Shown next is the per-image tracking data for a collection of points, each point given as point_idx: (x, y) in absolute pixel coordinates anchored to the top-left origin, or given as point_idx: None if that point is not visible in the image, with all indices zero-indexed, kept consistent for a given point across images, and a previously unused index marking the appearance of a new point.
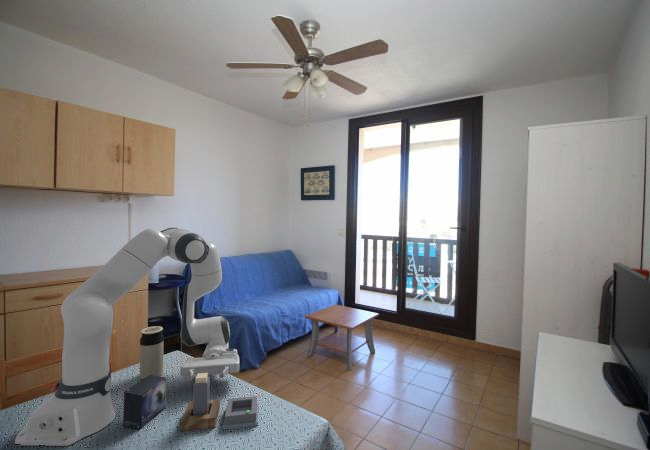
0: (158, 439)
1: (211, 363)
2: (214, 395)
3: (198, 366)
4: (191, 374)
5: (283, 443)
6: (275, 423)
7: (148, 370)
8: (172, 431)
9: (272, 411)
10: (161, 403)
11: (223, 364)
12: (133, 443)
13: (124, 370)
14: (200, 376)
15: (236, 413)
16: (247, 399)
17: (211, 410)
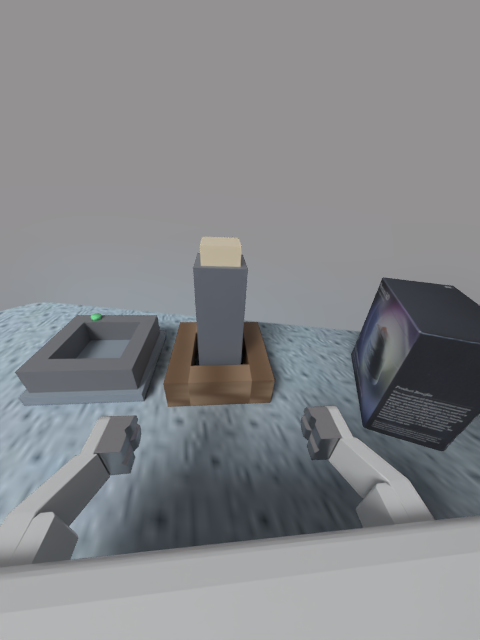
0: (289, 331)
1: (218, 622)
2: (188, 518)
3: (366, 529)
4: (339, 415)
5: (65, 305)
6: (39, 338)
7: None
8: (274, 344)
9: (4, 374)
10: (368, 385)
11: (38, 571)
12: (329, 329)
13: None
14: (224, 239)
15: (126, 319)
16: (64, 359)
17: (190, 340)
